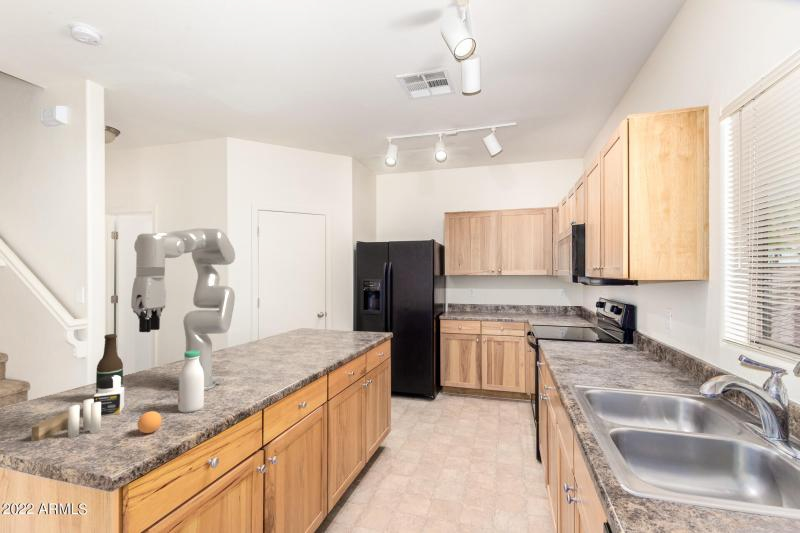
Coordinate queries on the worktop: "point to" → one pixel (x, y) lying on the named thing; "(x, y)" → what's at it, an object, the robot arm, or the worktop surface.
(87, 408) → the pin
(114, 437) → the worktop surface
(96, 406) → the pin front
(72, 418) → the pin
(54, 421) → the bar
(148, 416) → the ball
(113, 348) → the beer bottle
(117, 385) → the medicine bottle
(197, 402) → the milk bottle
